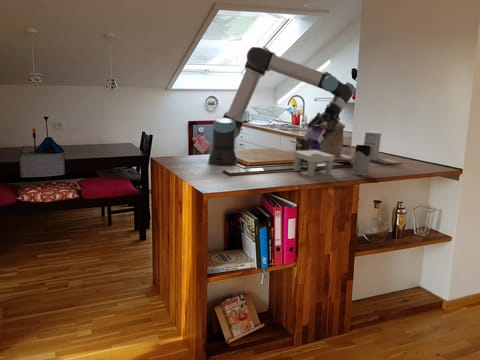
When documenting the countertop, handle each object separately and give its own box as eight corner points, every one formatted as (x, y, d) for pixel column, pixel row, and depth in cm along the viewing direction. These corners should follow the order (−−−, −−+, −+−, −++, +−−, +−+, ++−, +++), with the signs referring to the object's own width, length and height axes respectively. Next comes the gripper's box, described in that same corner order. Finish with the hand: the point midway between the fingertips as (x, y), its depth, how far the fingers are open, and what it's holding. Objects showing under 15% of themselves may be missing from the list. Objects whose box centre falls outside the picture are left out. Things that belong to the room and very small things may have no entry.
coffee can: (299, 164, 255) (301, 139, 252) (291, 160, 265) (293, 136, 261) (315, 164, 259) (318, 139, 256) (306, 160, 268) (309, 136, 265)
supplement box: (377, 160, 280) (381, 133, 276) (361, 159, 283) (365, 132, 278) (377, 158, 289) (381, 131, 284) (362, 156, 291) (366, 130, 287)
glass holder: (348, 173, 241) (351, 145, 237) (362, 170, 251) (365, 143, 247) (362, 176, 235) (366, 148, 231) (376, 173, 245) (380, 146, 241)
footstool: (309, 176, 228) (311, 157, 226) (292, 169, 241) (293, 151, 238) (332, 174, 236) (335, 155, 233) (314, 168, 248) (316, 150, 246)
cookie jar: (353, 160, 276) (359, 107, 268) (315, 160, 270) (320, 105, 262) (335, 152, 299) (340, 103, 291) (299, 152, 293) (304, 101, 285)
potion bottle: (326, 148, 235) (329, 125, 232) (317, 150, 229) (319, 126, 226) (312, 145, 241) (314, 123, 238) (303, 147, 235) (305, 124, 232)
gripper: (354, 115, 232) (330, 148, 226) (321, 110, 248) (299, 141, 242) (349, 104, 228) (325, 138, 222) (316, 100, 243) (293, 131, 237)
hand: (311, 139), depth 232 cm, fingers closed on potion bottle, 8 cm apart
